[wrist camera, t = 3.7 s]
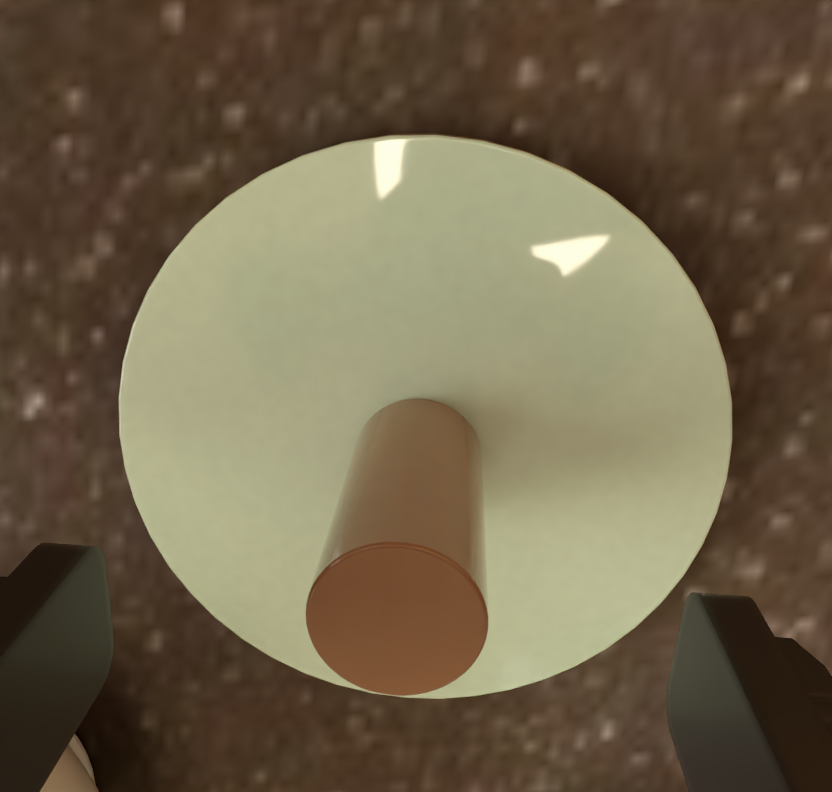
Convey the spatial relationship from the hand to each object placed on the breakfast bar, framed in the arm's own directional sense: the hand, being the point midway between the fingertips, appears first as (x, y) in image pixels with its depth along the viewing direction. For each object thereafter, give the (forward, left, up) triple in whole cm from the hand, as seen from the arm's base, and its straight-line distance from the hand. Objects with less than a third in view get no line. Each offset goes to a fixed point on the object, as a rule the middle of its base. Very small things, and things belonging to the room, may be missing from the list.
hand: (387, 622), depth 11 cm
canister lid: (0, 0, -6) cm, 6 cm away
